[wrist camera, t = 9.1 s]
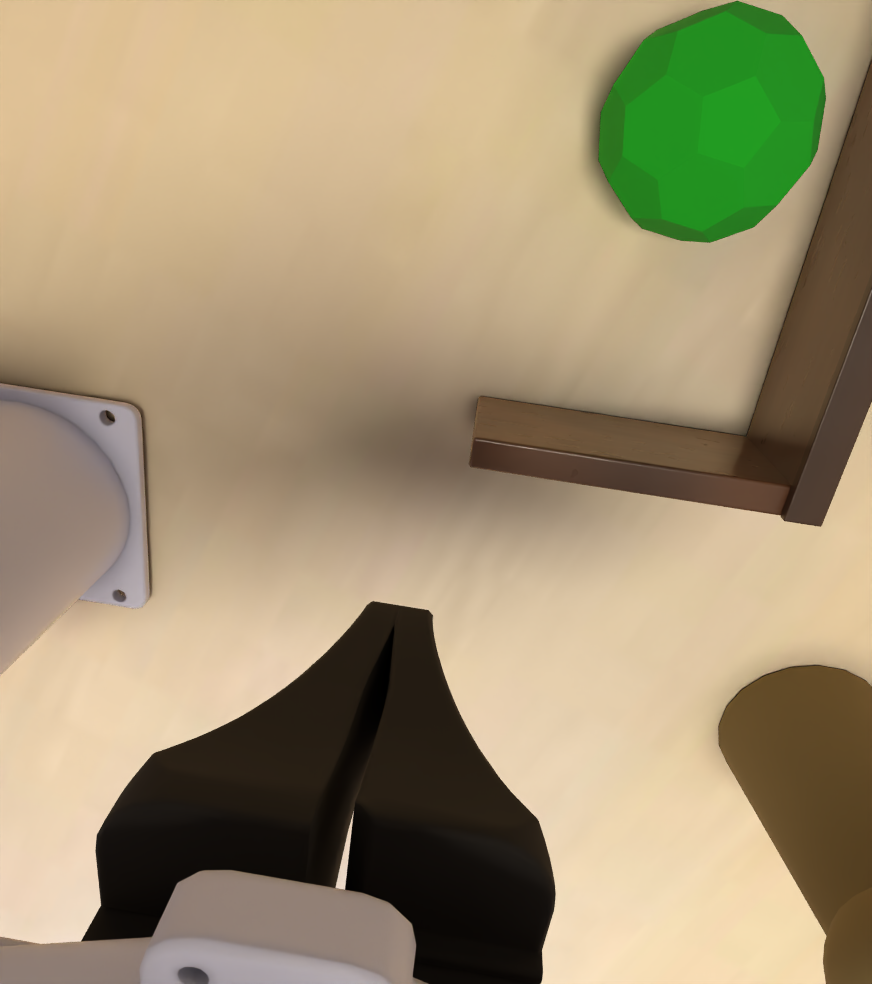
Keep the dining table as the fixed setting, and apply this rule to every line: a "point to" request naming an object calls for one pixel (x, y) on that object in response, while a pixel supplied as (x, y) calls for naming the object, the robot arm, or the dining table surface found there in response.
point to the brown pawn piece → (813, 796)
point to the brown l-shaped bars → (782, 404)
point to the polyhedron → (712, 122)
